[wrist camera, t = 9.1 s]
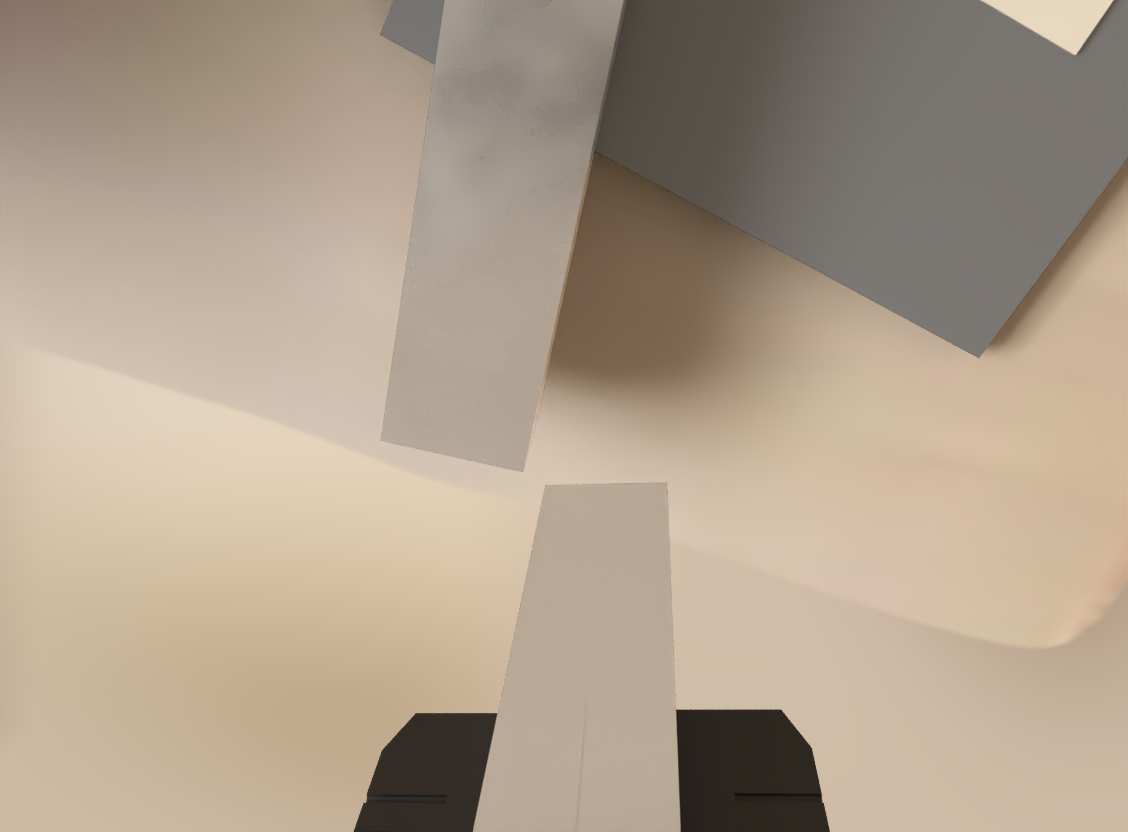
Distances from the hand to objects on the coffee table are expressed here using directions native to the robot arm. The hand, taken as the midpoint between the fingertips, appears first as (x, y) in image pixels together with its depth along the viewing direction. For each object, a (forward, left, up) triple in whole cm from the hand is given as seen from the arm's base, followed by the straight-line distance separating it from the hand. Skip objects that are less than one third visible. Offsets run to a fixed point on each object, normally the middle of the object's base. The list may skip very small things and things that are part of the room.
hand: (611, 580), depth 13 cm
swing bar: (-5, +4, -18) cm, 19 cm away
